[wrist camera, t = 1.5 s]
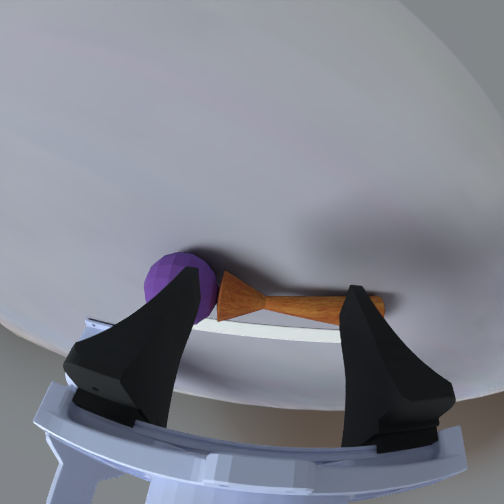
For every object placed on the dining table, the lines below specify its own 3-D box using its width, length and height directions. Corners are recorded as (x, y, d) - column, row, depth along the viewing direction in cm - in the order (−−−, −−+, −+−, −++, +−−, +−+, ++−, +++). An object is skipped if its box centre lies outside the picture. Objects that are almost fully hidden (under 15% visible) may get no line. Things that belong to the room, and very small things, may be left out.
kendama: (364, 357, 23) (142, 332, 22) (356, 305, 28) (158, 278, 26) (399, 325, 19) (128, 291, 18) (383, 267, 23) (152, 232, 22)
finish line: (145, 320, 29) (145, 321, 29) (141, 307, 28) (141, 308, 28) (379, 342, 28) (379, 343, 28) (385, 331, 27) (385, 331, 26)
